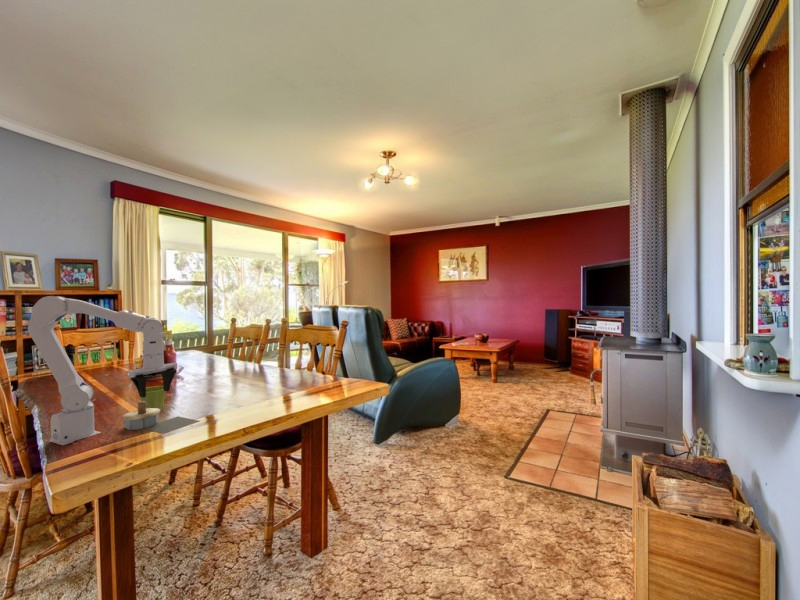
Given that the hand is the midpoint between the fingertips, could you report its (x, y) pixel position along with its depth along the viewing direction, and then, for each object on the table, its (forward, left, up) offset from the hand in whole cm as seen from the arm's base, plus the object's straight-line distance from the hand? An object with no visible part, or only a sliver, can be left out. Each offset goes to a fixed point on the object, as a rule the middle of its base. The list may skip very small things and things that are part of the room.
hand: (155, 393), depth 119 cm
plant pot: (+7, +14, -10) cm, 19 cm away
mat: (0, -8, -10) cm, 13 cm away
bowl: (-4, +1, -10) cm, 11 cm away
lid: (-4, +1, -6) cm, 7 cm away
